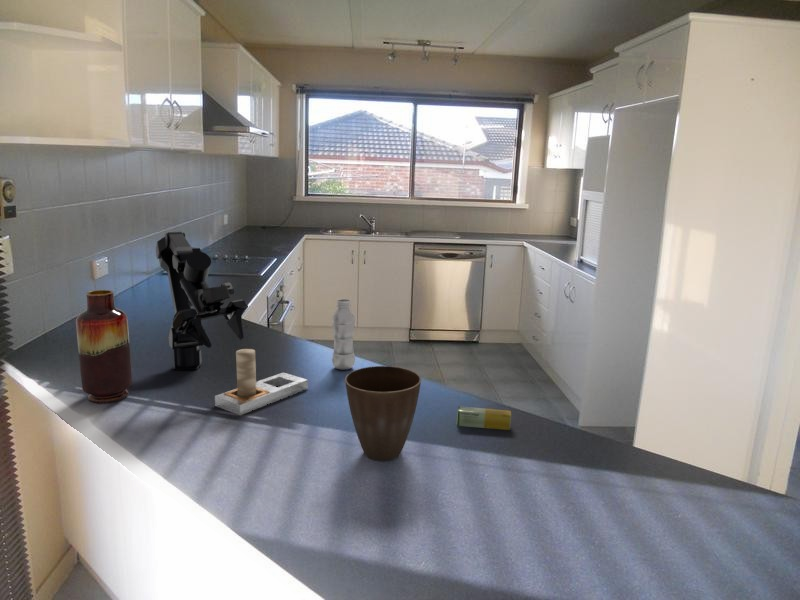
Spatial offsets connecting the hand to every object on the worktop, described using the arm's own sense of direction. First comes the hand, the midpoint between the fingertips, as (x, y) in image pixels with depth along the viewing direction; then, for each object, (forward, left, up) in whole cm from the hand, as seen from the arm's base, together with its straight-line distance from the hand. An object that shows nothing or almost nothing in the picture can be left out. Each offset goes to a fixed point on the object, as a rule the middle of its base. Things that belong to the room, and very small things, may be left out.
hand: (226, 343), depth 147 cm
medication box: (+59, -22, -14) cm, 65 cm away
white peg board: (+9, -2, -14) cm, 16 cm away
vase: (-29, +1, -14) cm, 32 cm away
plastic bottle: (+29, +19, -14) cm, 37 cm away
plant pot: (+35, -34, -14) cm, 51 cm away
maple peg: (+5, -6, -14) cm, 16 cm away
